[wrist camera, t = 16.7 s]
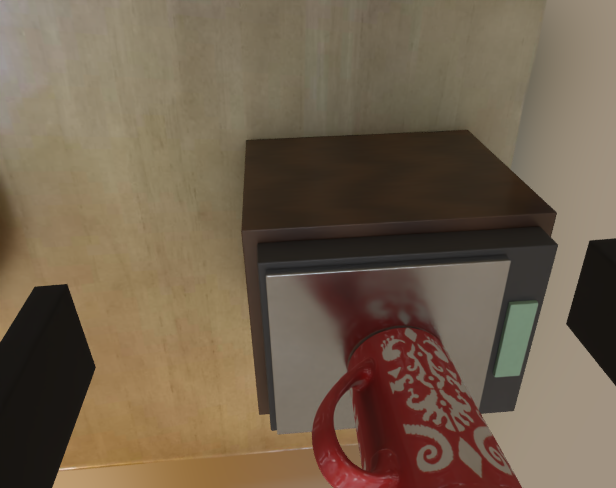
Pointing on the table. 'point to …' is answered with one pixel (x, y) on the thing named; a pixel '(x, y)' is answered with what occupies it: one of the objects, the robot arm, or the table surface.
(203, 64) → the table surface
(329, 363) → the kitchen scale
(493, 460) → the mug
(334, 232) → the riser
